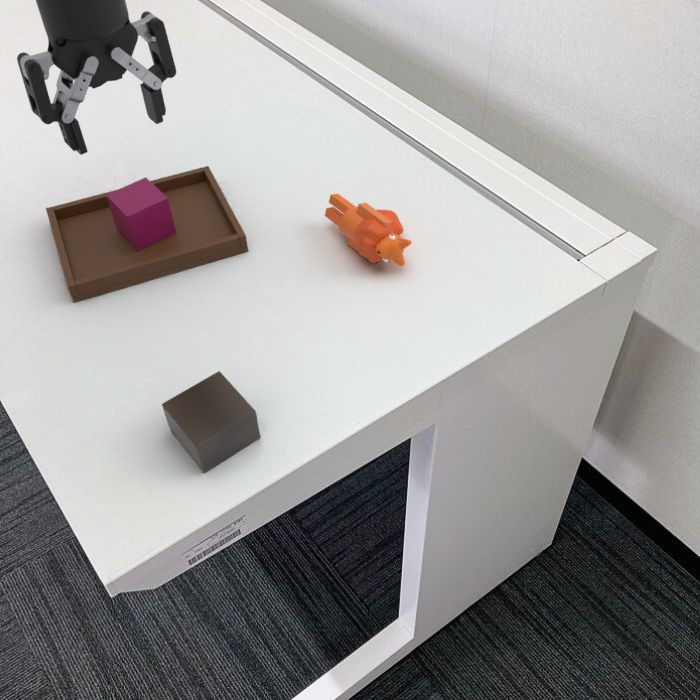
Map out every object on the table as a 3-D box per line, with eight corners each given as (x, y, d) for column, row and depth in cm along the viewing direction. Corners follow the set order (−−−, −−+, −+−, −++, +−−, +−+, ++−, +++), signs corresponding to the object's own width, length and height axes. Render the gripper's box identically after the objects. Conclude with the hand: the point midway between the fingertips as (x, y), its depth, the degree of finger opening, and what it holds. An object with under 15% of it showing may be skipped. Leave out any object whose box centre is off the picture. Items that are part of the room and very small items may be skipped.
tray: (73, 302, 81) (67, 287, 80) (51, 223, 90) (45, 208, 89) (248, 251, 86) (246, 235, 85) (211, 181, 95) (208, 165, 94)
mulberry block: (137, 251, 85) (126, 216, 82) (116, 230, 88) (105, 194, 84) (176, 233, 87) (167, 197, 84) (155, 212, 90) (145, 177, 86)
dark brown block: (204, 473, 67) (196, 447, 64) (170, 430, 70) (161, 403, 67) (261, 437, 69) (256, 411, 66) (225, 397, 72) (219, 370, 69)
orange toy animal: (317, 187, 84) (390, 240, 78) (366, 179, 89) (438, 229, 83) (308, 227, 87) (377, 281, 81) (356, 218, 92) (425, 269, 86)
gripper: (126, -63, 71) (162, 97, 83) (-24, -21, 65) (38, 144, 77) (166, -39, 67) (197, 125, 79) (10, 9, 61) (69, 178, 73)
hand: (118, 135), depth 78 cm, fingers open, 8 cm apart
